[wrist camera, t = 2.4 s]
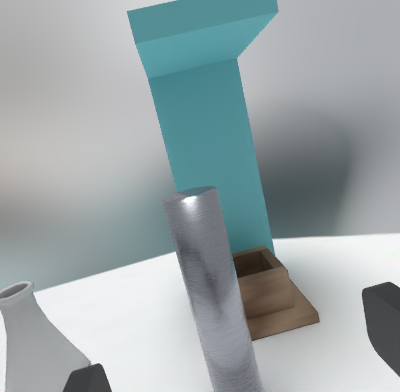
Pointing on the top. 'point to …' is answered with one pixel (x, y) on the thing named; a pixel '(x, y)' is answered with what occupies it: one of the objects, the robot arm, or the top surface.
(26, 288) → the flask
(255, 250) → the socket
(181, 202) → the peg
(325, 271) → the top surface
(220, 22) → the teal angle bracket
